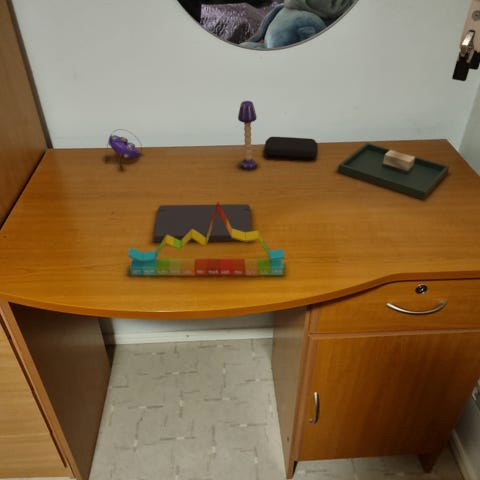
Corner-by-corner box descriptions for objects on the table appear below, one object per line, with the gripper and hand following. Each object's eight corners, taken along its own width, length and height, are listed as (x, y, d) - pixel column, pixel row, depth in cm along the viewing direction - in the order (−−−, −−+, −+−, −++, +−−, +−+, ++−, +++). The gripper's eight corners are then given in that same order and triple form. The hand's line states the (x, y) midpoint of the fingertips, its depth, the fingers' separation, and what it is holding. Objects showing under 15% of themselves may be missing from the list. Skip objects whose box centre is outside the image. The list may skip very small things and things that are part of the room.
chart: (131, 276, 96) (118, 210, 86) (133, 266, 99) (121, 201, 88) (282, 276, 96) (288, 210, 86) (281, 266, 99) (287, 201, 88)
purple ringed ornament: (152, 143, 131) (126, 149, 124) (145, 169, 136) (120, 176, 129) (125, 123, 133) (99, 129, 126) (119, 150, 138) (93, 156, 131)
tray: (447, 173, 127) (449, 166, 125) (423, 200, 117) (425, 192, 116) (365, 149, 137) (367, 142, 136) (337, 172, 127) (338, 164, 126)
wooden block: (412, 169, 127) (415, 156, 125) (406, 174, 125) (410, 161, 123) (387, 162, 130) (390, 149, 128) (382, 166, 128) (384, 154, 126)
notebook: (154, 242, 105) (251, 240, 105) (153, 236, 104) (251, 234, 104) (159, 210, 114) (249, 209, 114) (158, 205, 113) (249, 203, 113)
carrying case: (317, 145, 139) (266, 142, 140) (318, 135, 137) (266, 132, 138) (316, 162, 131) (262, 159, 133) (317, 152, 129) (263, 148, 130)
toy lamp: (243, 171, 128) (243, 107, 116) (235, 164, 130) (234, 101, 119) (259, 167, 129) (261, 103, 118) (250, 160, 132) (251, 97, 120)
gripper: (495, -1, 99) (470, 87, 111) (516, -15, 109) (490, 67, 121) (458, -4, 102) (437, 81, 114) (482, -18, 112) (460, 62, 124)
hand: (465, 74), depth 118 cm, fingers open, 9 cm apart
